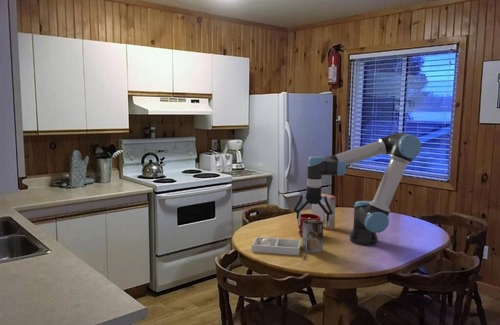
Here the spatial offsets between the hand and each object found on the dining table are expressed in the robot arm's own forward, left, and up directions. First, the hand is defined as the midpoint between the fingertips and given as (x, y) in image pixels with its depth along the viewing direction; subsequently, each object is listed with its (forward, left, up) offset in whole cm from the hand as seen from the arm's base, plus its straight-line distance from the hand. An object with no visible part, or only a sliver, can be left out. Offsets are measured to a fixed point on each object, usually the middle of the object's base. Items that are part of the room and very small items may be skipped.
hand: (312, 225), depth 220 cm
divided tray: (+18, +4, -13) cm, 23 cm away
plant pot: (+3, -25, -14) cm, 29 cm away
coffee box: (0, 0, -14) cm, 14 cm away
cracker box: (-5, -43, -14) cm, 46 cm away
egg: (+24, +4, -12) cm, 27 cm away
